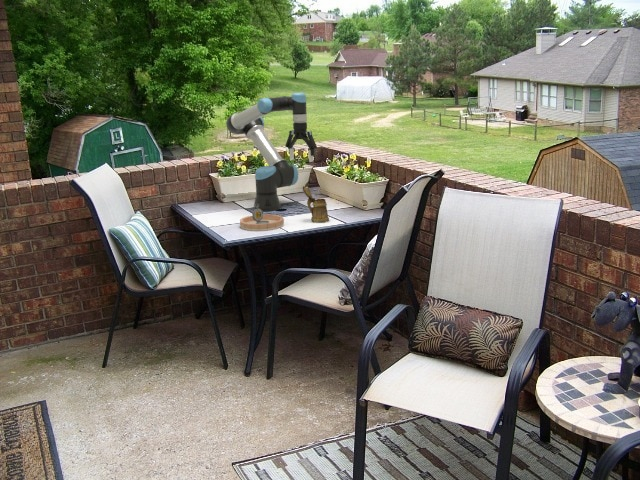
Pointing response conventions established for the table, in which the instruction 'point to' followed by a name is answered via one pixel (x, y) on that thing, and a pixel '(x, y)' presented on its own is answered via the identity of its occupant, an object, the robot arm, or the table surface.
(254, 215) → the pocket watch
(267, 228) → the round dish
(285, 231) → the table surface
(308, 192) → the wooden mug
